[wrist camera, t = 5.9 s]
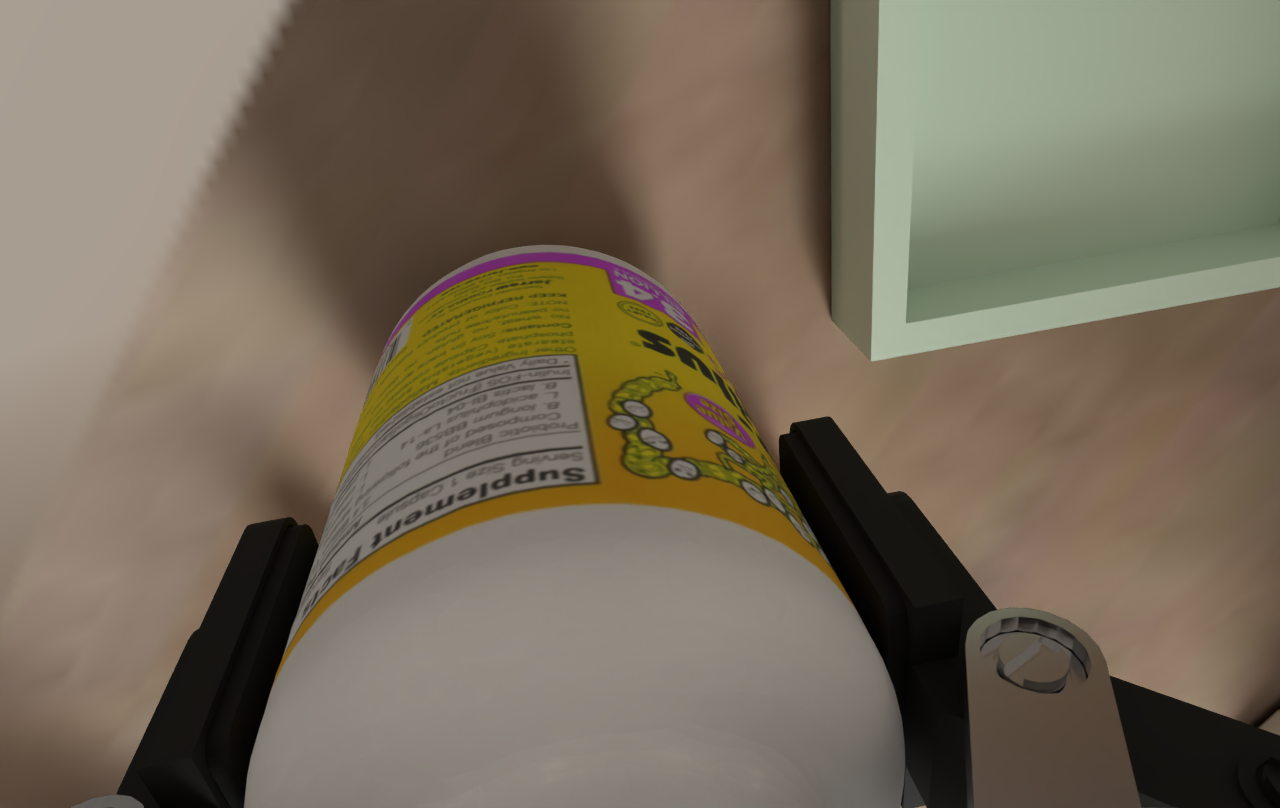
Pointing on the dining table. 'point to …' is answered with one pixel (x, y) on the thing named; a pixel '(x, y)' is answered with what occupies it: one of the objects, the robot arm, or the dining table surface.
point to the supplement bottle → (569, 577)
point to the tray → (1047, 163)
